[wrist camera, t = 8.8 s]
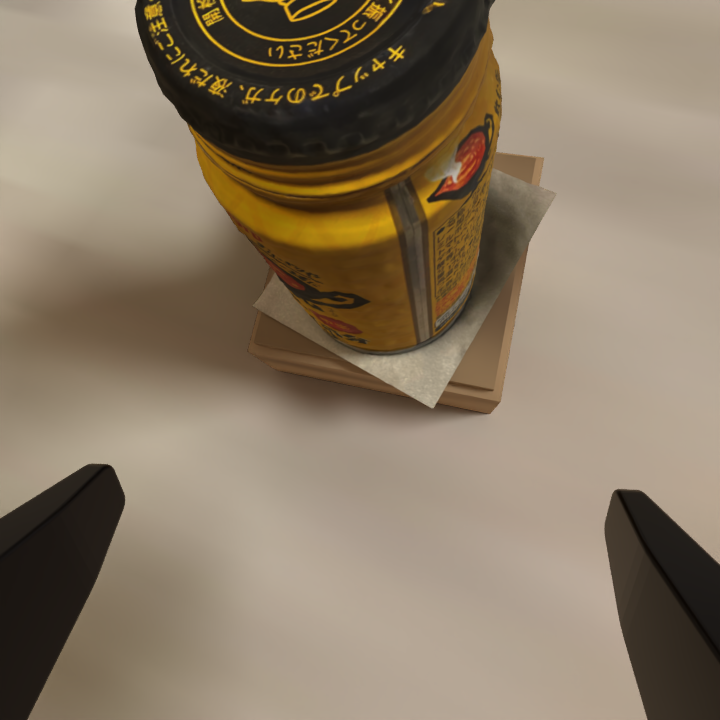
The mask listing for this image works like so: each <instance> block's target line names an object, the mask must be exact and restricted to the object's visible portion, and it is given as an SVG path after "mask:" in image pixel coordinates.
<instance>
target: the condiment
mask: <svg viewBox="0 0 720 720" xmlns="http://www.w3.org/2000/svg"><path fill="white" fill-rule="evenodd" d="M494 1H495V0H137V3H136V6H135V15H136V22H137V27H138V32H139V35H140V39H141V41H142V44H143V47H144V50H145V53H146V56H147V59H148V61H149V63H150V65H151V67H152V69H153V71H154V74H155V77H156V80H157V83H158V85H159V87H160V88H161V90H162V92H163V94H164V95H165V96H166V97H167V98H168V99H169V101H170V102H171V103H172V104H173V105H174V106H175V108H176V109H177V111H178V113H179V115H180V116H181V118H183V119H184V120H185V121H186V122H187V124H188V127H189V130H190V132H191V133H192V135H193V136H194V138H195V143H196V152H197V158H198V161H199V164H200V167H201V169H202V173H203V176H204V178H205V180H206V182H207V184H208V185H209V187H210V189H211V190H212V192H213V193H214V195H215V197H216V198H217V200H218V201H219V203H220V204H221V205H222V206H223V207H224V209H225V210H226V212H227V213H228V215H229V216H230V218H231V220H232V221H233V223H234V224H235V225H236V227H237V228H238V230H239V231H240V232H241V233H243V234H245V236H246V237H247V238H248V239H249V241H250V242H251V243H252V244H253V245H254V246H255V248H256V249H257V250H258V251H259V253H260V254H261V255H262V256H263V257H264V259H265V260H266V262H267V263H268V264H269V265H270V267H271V268H272V269H273V270H274V271H275V273H274V275H273V277H272V279H271V281H270V282H269V284H268V285H267V287H266V288H265V290H264V291H263V293H262V294H261V296H260V297H259V299H258V300H257V301H256V302H255V303H254V304H253V307H255V308H256V309H258V310H260V311H261V312H263V313H265V314H267V315H269V316H270V317H272V318H274V319H276V320H277V321H279V322H280V323H282V324H284V325H286V326H288V327H290V328H291V329H293V330H295V331H296V332H298V333H300V334H302V335H303V336H305V337H307V338H309V339H310V340H312V341H314V342H316V343H317V344H319V345H321V346H323V347H324V348H326V349H328V350H329V351H331V352H333V353H335V354H337V355H338V356H340V357H342V358H344V359H345V360H347V361H349V362H351V363H352V364H354V365H356V366H358V367H360V368H361V369H363V370H365V371H367V372H368V373H370V374H372V375H374V376H375V377H377V378H379V379H381V380H383V381H384V382H386V383H388V384H390V385H392V386H394V387H395V388H397V389H399V390H401V391H402V392H404V393H406V394H408V395H409V396H411V397H413V398H415V399H416V400H418V401H420V402H422V403H423V404H425V405H427V406H429V407H430V408H432V409H433V408H434V406H435V405H436V403H437V401H438V399H439V398H440V396H441V394H442V393H443V391H444V389H445V387H446V386H447V384H448V382H449V380H450V379H451V377H452V375H453V374H454V372H455V370H456V368H457V367H458V365H459V363H460V362H461V360H462V358H463V356H464V354H465V352H466V351H467V349H468V347H469V346H470V344H471V342H472V341H473V339H474V337H475V336H476V334H477V332H478V330H479V329H480V327H481V325H482V323H483V321H484V320H485V318H486V316H487V315H488V313H489V311H490V309H491V308H492V306H493V304H494V302H495V300H496V299H497V298H498V296H499V294H500V292H501V290H502V288H503V286H504V285H505V283H506V281H507V279H508V278H509V276H510V274H511V272H512V271H513V269H514V267H515V266H516V264H517V262H518V260H519V259H520V257H521V255H522V254H523V252H524V250H525V248H526V247H527V245H528V244H529V242H530V240H531V238H532V236H533V234H534V233H535V231H536V229H537V227H538V225H539V223H540V222H541V220H542V218H543V217H544V215H545V213H546V212H547V210H548V208H549V206H550V205H551V203H552V201H553V199H554V198H555V196H556V194H557V193H554V192H551V191H549V190H546V189H544V188H542V187H539V186H537V185H533V184H529V183H526V182H524V181H522V180H520V179H518V178H515V177H512V176H510V175H508V174H505V173H503V172H501V171H499V170H496V169H494V168H493V163H494V156H495V152H496V148H497V139H498V136H499V129H500V121H501V115H502V106H501V102H502V97H501V80H500V72H499V65H498V63H497V61H496V59H495V58H494V54H493V51H492V49H491V48H492V44H493V40H494V39H493V34H492V31H491V29H490V22H489V17H488V16H489V10H490V7H491V6H492V4H493V3H494Z"/></svg>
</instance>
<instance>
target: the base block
mask: <svg viewBox="0 0 720 720" xmlns="http://www.w3.org/2000/svg"><path fill="white" fill-rule="evenodd" d="M543 161H544V158H541V157H533V156H524V155H516V154H507V153H499V152H495V156H494V163H493V168H494V169H496V170H499V171H501V172H503V173H505V174H508V175H510V176H512V177H515V178H518V179H520V180H522V181H524V182H526V183H529V184H533V185H537V186H539V184H540V178H541V172H542V167H543ZM528 245H529V244H528ZM528 245H527V247H526V248H525V250H524V252H523V254H522V255H521V257H520V259H519V260H518V262H517V264H516V266H515V267H514V269H513V271H512V272H511V274H510V276H509V278H508V279H507V281H506V283H505V285H504V286H503V288H502V290H501V292H500V294H499V296H498V298H497V299H496V300H495V302H494V304H493V306H492V308H491V309H490V311H489V313H488V315H487V316H486V318H485V320H484V321H483V323H482V325H481V327H480V329H479V330H478V332H477V334H476V336H475V337H474V339H473V341H472V342H471V344H470V346H469V347H468V349H467V351H466V352H465V354H464V356H463V358H462V360H461V362H460V363H459V365H458V367H457V368H456V370H455V372H454V374H453V375H452V377H451V379H450V380H449V382H448V384H447V386H446V387H445V389H444V391H443V393H442V394H441V396H440V398H439V399H438V401H437V403H439V404H444V405H449V406H454V407H459V408H464V409H469V410H474V411H478V412H483V413H488V414H490V413H491V412H492V411H493V410H494V409H495V408H496V406H497V405H498V404H499V403H500V401H501V396H502V390H503V384H504V379H505V373H506V368H507V362H508V357H509V351H510V345H511V340H512V334H513V329H514V323H515V318H516V312H517V306H518V301H519V295H520V290H521V284H522V278H523V273H524V267H525V262H526V256H527V251H528ZM274 273H275V271H274V270H273V269H272V268H271V267H270V268H269V272H268V276H267V279H266V283H265V287H264V290H265V288H266V287H267V285H268V284H269V282H270V281H271V279H272V277H273V275H274ZM248 352H249V353H251V354H252V355H254V356H255V357H257V358H258V359H260V360H261V361H263V362H264V363H266V364H267V365H269V366H270V367H272V368H274V369H275V370H278V371H283V372H288V373H293V374H297V375H302V376H307V377H312V378H317V379H322V380H327V381H332V382H337V383H341V384H346V385H351V386H356V387H361V388H366V389H371V390H376V391H381V392H386V393H390V394H395V395H400V396H405V397H410V398H413V397H411V396H409V395H408V394H406V393H404V392H402V391H401V390H399V389H397V388H395V387H394V386H392V385H390V384H388V383H386V382H384V381H383V380H381V379H379V378H377V377H375V376H374V375H372V374H370V373H368V372H367V371H365V370H363V369H361V368H360V367H358V366H356V365H354V364H352V363H351V362H349V361H347V360H345V359H344V358H342V357H340V356H338V355H337V354H335V353H333V352H331V351H329V350H328V349H326V348H324V347H323V346H321V345H319V344H317V343H316V342H314V341H312V340H310V339H309V338H307V337H305V336H303V335H302V334H300V333H298V332H296V331H295V330H293V329H291V328H290V327H288V326H286V325H284V324H282V323H280V322H279V321H277V320H276V319H274V318H272V317H270V316H269V315H267V314H265V313H263V312H261V311H260V310H258V313H257V317H256V321H255V324H254V328H253V332H252V336H251V339H250V343H249V347H248Z"/></svg>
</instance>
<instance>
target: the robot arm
mask: <svg viewBox="0 0 720 720" xmlns="http://www.w3.org/2000/svg"><path fill="white" fill-rule="evenodd" d="M124 505H125V495H124V492H123V489H122V487H121V485H120V482H119V480H118V477H117V475H116V473H115V470H114V468H113V467H112V466H110V465H108V464H88V465H86V466H84V467H82V468H81V469H79V470H78V471H76V472H74V473H73V474H71V475H70V476H68V477H66V478H65V479H63V480H61V481H60V482H58V483H57V484H55V485H53V486H52V487H50V488H49V489H47V490H45V491H44V492H42V493H41V494H39V495H37V496H36V497H34V498H32V499H31V500H29V501H28V502H26V503H24V504H23V505H21V506H20V507H18V508H16V509H15V510H13V511H12V512H10V513H8V514H7V515H5V516H3V517H2V518H0V720H27V719H28V717H29V715H30V713H31V711H32V709H33V707H34V705H35V703H36V701H37V699H38V697H39V695H40V693H41V691H42V689H43V687H44V685H45V683H46V681H47V679H48V677H49V675H50V673H51V671H52V669H53V667H54V665H55V663H56V661H57V659H58V657H59V655H60V653H61V651H62V649H63V647H64V645H65V643H66V641H67V639H68V637H69V635H70V633H71V631H72V629H73V627H74V625H75V623H76V621H77V619H78V617H79V615H80V613H81V611H82V609H83V607H84V604H85V602H86V600H87V598H88V596H89V594H90V592H91V590H92V588H93V586H94V584H95V582H96V579H97V577H98V574H99V572H100V570H101V567H102V564H103V562H104V559H105V556H106V554H107V551H108V548H109V546H110V543H111V541H112V538H113V535H114V533H115V530H116V527H117V525H118V522H119V519H120V517H121V514H122V512H123V509H124ZM605 540H606V545H607V551H608V557H609V563H610V569H611V575H612V580H613V586H614V592H615V598H616V604H617V610H618V615H619V620H620V625H621V629H622V633H623V637H624V641H625V644H626V647H627V651H628V654H629V658H630V661H631V665H632V668H633V671H634V675H635V678H636V682H637V685H638V689H639V692H640V695H641V699H642V702H643V706H644V709H645V712H646V716H647V719H648V720H720V564H719V563H718V562H717V561H716V560H714V559H713V558H712V557H711V556H710V555H709V554H708V553H707V552H706V551H705V550H704V549H703V548H702V547H701V546H700V545H699V544H698V543H697V542H696V541H694V540H693V539H692V538H691V537H690V536H689V535H688V534H687V533H686V532H685V531H684V530H683V529H682V528H681V527H680V526H679V525H678V524H677V523H676V522H675V521H673V520H672V519H671V518H670V517H669V516H668V515H667V514H666V513H665V512H664V511H663V510H662V509H661V508H660V507H659V506H658V505H657V504H656V503H655V502H653V501H652V500H651V499H650V498H649V497H648V496H647V495H646V494H645V493H644V492H642V491H640V490H627V489H617V490H615V491H614V492H613V494H612V497H611V501H610V505H609V509H608V513H607V517H606V520H605Z"/></svg>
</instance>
